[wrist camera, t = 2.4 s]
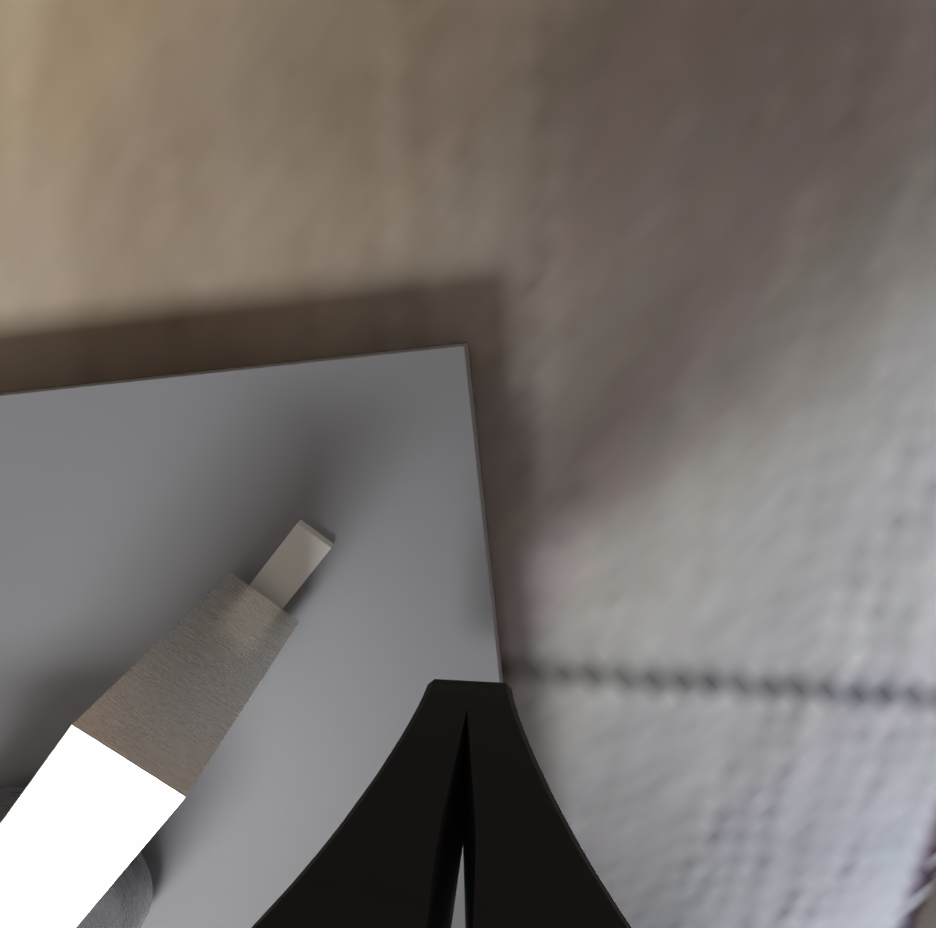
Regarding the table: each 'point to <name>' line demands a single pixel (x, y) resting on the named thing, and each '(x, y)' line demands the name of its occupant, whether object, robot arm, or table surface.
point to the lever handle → (132, 767)
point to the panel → (261, 567)
